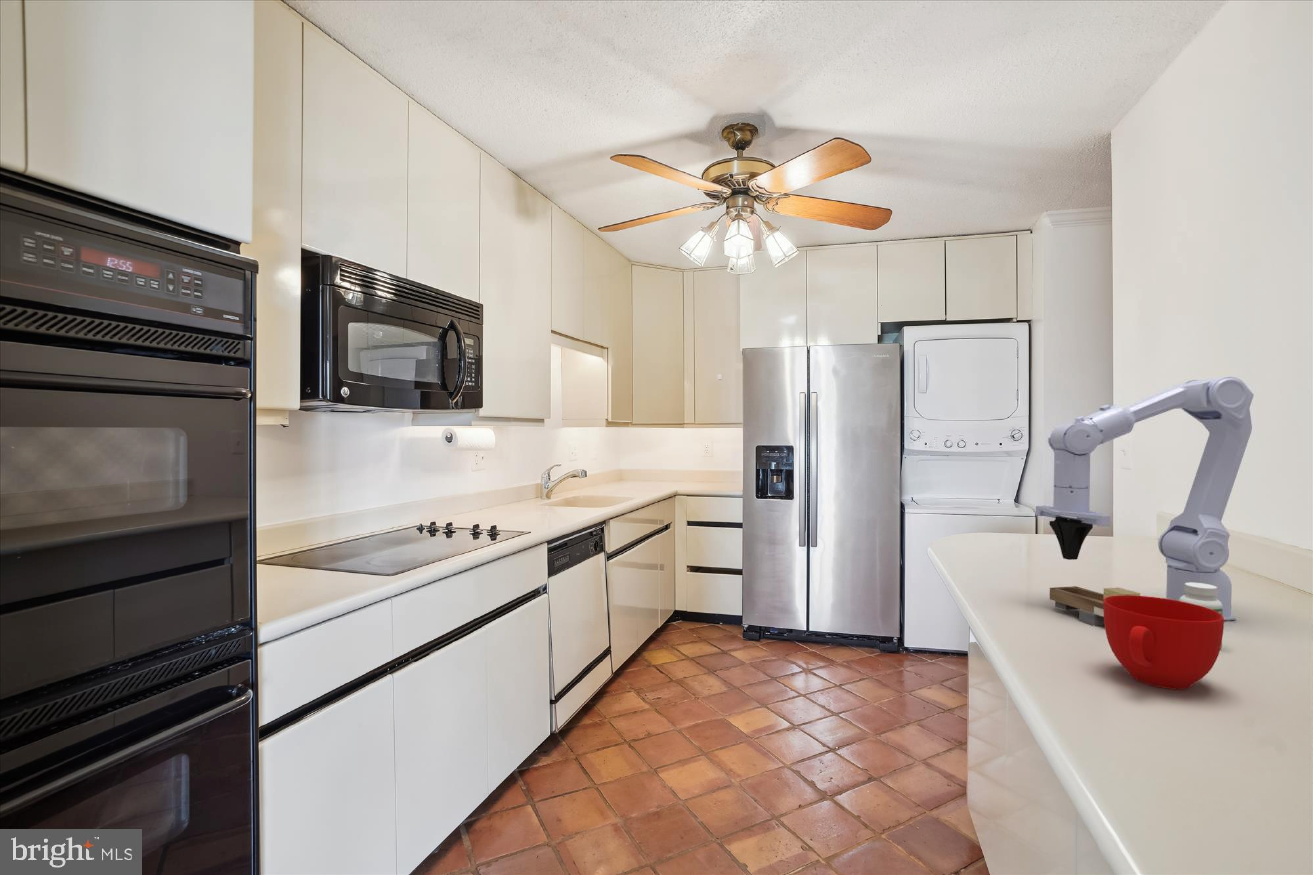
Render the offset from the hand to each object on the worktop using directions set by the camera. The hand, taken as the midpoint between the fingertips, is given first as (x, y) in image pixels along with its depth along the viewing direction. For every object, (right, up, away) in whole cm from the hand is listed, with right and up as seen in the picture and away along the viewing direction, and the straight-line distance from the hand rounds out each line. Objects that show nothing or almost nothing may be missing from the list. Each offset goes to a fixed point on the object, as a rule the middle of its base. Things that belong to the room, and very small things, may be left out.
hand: (1070, 558), depth 120 cm
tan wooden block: (+2, -7, -10) cm, 12 cm away
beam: (+2, -10, -7) cm, 12 cm away
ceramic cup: (-11, -11, -34) cm, 37 cm away
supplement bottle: (+9, -11, -18) cm, 23 cm away
